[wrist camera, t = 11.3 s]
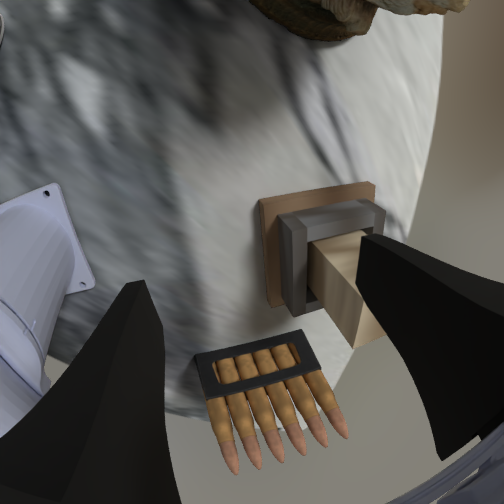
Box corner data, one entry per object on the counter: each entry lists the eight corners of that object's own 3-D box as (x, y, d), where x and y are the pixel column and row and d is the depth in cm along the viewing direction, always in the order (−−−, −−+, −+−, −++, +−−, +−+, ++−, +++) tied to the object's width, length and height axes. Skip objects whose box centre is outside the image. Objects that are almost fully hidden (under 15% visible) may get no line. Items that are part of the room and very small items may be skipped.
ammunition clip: (197, 366, 26) (225, 480, 16) (193, 354, 25) (222, 475, 15) (300, 340, 28) (354, 437, 18) (302, 328, 27) (360, 429, 17)
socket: (267, 300, 24) (282, 328, 21) (258, 199, 19) (277, 220, 16) (358, 273, 26) (379, 295, 23) (367, 181, 21) (396, 197, 18)
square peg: (300, 275, 22) (352, 349, 16) (300, 229, 20) (363, 300, 14) (344, 263, 23) (402, 326, 16) (347, 219, 21) (418, 278, 14)
